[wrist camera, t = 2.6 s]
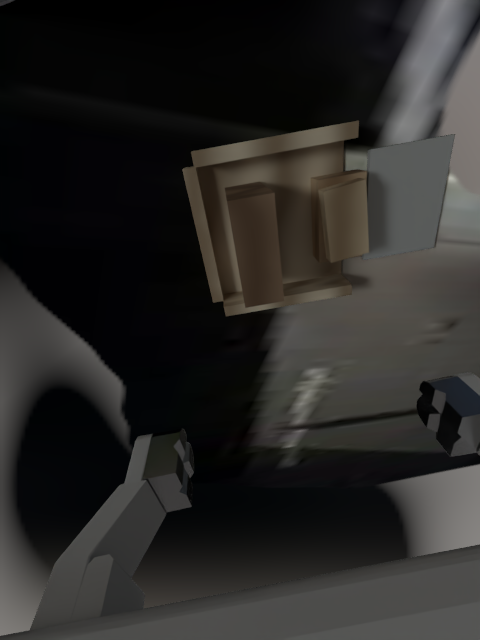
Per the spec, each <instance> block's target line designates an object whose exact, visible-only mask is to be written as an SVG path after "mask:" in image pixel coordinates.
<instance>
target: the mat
mask: <svg viewBox="0 0 480 640" xmlns="http://www.w3.org/2000/svg"><path fill="white" fill-rule="evenodd" d="M454 136H455V134H451V135H446V136H440V137H435V138H429V139H424V140H418V141H413V142H408V143H402V144H397V145H391V146H386V147H380V148H375V149H369V150H368V161H367V181H366V186H367V212H368V238H369V253H366V254H362V259H363V260H366V259H372V258H378V257H384V256H389V255H395V254H401V253H406V252H412V251H418V250H424V249H429V248H434V244H435V239H436V233H437V228H438V223H439V217H440V212H441V206H442V201H443V196H444V190H445V185H446V179H447V174H448V169H449V163H450V157H451V152H452V147H453V141H454Z"/></svg>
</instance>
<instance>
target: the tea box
mask: <svg viewBox="0 0 480 640" xmlns="http://www.w3.org/2000/svg"><path fill="white" fill-rule="evenodd" d="M12 1H15V0H0V6H2V5H5V4H7V3H10V2H12Z"/></svg>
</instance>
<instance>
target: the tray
mask: <svg viewBox="0 0 480 640" xmlns="http://www.w3.org/2000/svg"><path fill="white" fill-rule="evenodd" d="M358 129H359V121H354V122H348V123H343V124H338V125H332V126H327V127H321V128H316V129H311V130H305V131H300V132H295V133H289V134H284V135H278V136H273V137H268V138H262V139H257V140H251V141H246V142H241V143H235V144H230V145H224V146H219V147H214V148H208V149H203V150H198V151H192V152H191V154H192V159H193V164H194V166H193V167H187V168H184V169H182V170H183V174H184V179H185V183H186V187H187V192H188V196H189V200H190V205H191V209H192V213H193V217H194V222H195V226H196V230H197V235H198V239H199V243H200V248H201V252H202V256H203V260H204V265H205V269H206V273H207V278H208V282H209V286H210V291H211V295H212V299H213V302H219V301H224V309H225V314H226V316H231V315H236V314H242V313H248V312H254V311H260V310H265V309H271V308H277V307H283V306H288V305H294V304H300V303H306V302H312V301H317V300H323V299H329V298H335V297H340V296H346V295H352V284H351V283H350V282H349V281H348V280H347V279H346V278H345V277H344V276H343V275H342V274H341V260H340V261H337V262H333V263H331V262H330V261H329V262H323V263H319V262H318V261H317V260H316V259H315V257H314V256H313V244H312V212H311V180H310V178H312V177H317V176H323V175H328V174H334V173H339V172H343V156H344V140H348V139H353V138H358ZM259 181H260V182H261V183H262V184H264V185H265V186H266V187H268V188H269V189H270V190H272V191H273V192H274V194H275V205H276V216H277V227H278V238H279V249H280V260H281V271H282V282H283V293H284V301H282V302H276V303H271V304H265V305H259V306H253V307H248V308H245V303H244V298H243V292H242V286H241V281H240V275H239V269H238V264H237V258H236V252H235V246H234V240H233V234H232V228H231V223H230V217H229V211H228V205H227V199H226V193H225V188H226V187H232V186H237V185H243V184H248V183H254V182H259Z"/></svg>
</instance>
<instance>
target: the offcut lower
mask: <svg viewBox="0 0 480 640" xmlns="http://www.w3.org/2000/svg"><path fill="white" fill-rule="evenodd" d="M356 178H363V179H366V181H367V171H362V170H350V171H345V172H339V173H334V174H328V175H323V176H317V177H312V178H310V180H311V212H312V244H313V256H314V257H315V259H316V260H317V261H318V262H319V263H323V262H329V260H328V259H327V258H326V251H325V243H324V234H323V226H322V217H321V209H320V201H319V192H318V190H319V189H323V188H326V187H329V186H333V185H336V184H339V183H343V182H346V181H350V180H353V179H356ZM358 256H362V255H358ZM355 257H357V256H355ZM351 258H352V257H351Z"/></svg>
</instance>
